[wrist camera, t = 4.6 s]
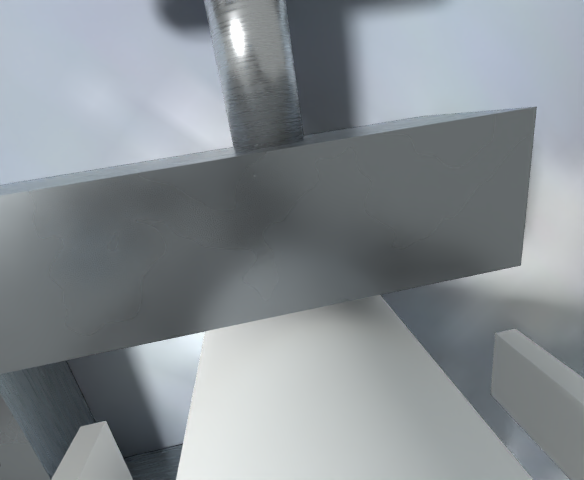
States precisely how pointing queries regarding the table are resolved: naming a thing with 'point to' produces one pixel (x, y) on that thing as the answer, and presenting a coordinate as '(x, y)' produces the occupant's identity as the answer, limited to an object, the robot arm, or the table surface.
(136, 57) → the table surface
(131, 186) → the c-clamp
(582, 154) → the table surface
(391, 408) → the beverage can
